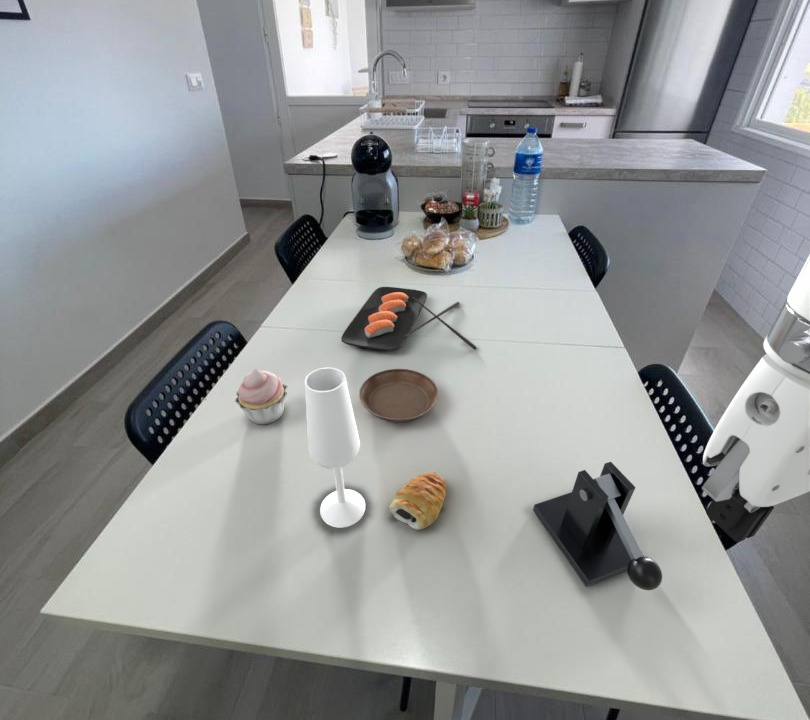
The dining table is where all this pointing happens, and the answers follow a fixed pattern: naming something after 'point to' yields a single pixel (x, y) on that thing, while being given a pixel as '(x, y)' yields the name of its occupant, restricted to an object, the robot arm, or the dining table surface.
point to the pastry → (419, 501)
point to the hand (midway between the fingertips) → (728, 524)
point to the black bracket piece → (588, 526)
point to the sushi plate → (390, 319)
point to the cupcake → (262, 396)
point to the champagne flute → (333, 441)
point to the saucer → (398, 394)
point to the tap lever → (630, 541)
